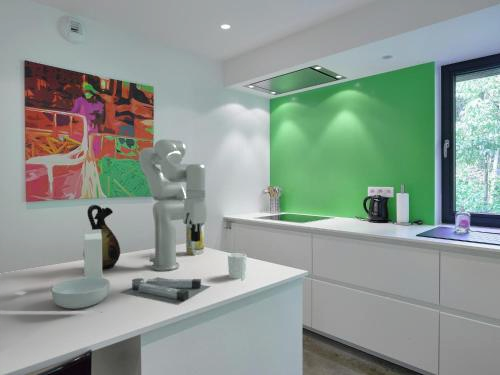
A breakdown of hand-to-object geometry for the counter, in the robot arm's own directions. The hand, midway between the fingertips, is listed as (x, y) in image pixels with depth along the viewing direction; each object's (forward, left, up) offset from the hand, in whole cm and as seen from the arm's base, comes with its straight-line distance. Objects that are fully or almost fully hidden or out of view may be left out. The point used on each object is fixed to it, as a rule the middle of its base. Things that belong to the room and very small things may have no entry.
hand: (195, 241), depth 130 cm
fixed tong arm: (-1, -19, -16) cm, 24 cm away
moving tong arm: (-5, -12, -16) cm, 21 cm away
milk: (-34, -20, -17) cm, 43 cm away
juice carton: (-30, +43, -17) cm, 55 cm away
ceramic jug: (-50, -3, -17) cm, 53 cm away
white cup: (+12, +13, -17) cm, 25 cm away
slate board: (-4, -13, -17) cm, 22 cm away
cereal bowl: (-21, -35, -17) cm, 44 cm away
